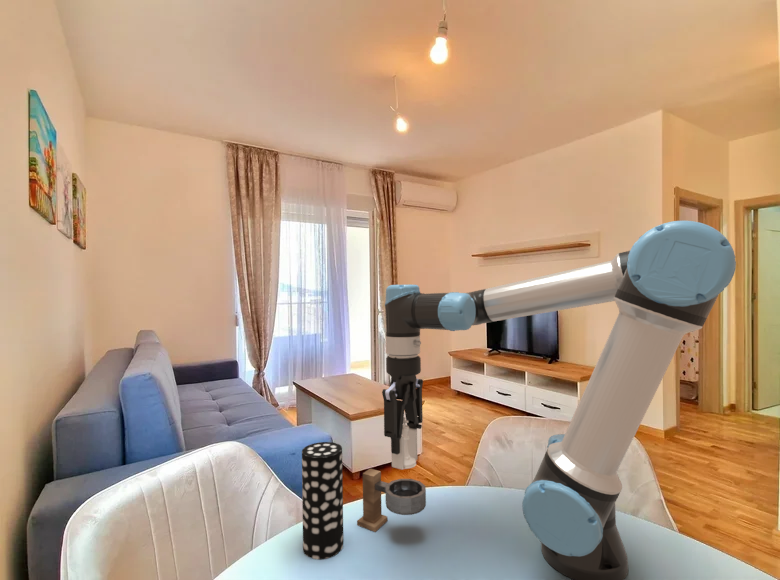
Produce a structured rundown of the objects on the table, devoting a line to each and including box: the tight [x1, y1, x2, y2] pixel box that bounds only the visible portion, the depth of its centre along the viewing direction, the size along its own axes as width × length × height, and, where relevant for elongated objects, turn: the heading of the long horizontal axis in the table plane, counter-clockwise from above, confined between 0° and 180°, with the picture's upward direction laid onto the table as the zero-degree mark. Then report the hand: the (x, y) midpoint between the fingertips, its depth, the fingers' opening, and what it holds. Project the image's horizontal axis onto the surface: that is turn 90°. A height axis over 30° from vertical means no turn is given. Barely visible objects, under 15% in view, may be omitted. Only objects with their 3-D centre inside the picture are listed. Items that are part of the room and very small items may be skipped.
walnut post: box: [356, 468, 388, 533], centre depth 89 cm, size 5×5×12 cm
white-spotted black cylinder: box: [301, 441, 344, 560], centre depth 81 cm, size 8×8×20 cm
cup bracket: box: [375, 478, 427, 516], centre depth 85 cm, size 14×9×3 cm, turn 57°
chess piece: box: [402, 416, 417, 470], centre depth 84 cm, size 5×5×10 cm
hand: (404, 462), depth 84 cm, fingers closed on chess piece, 5 cm apart
